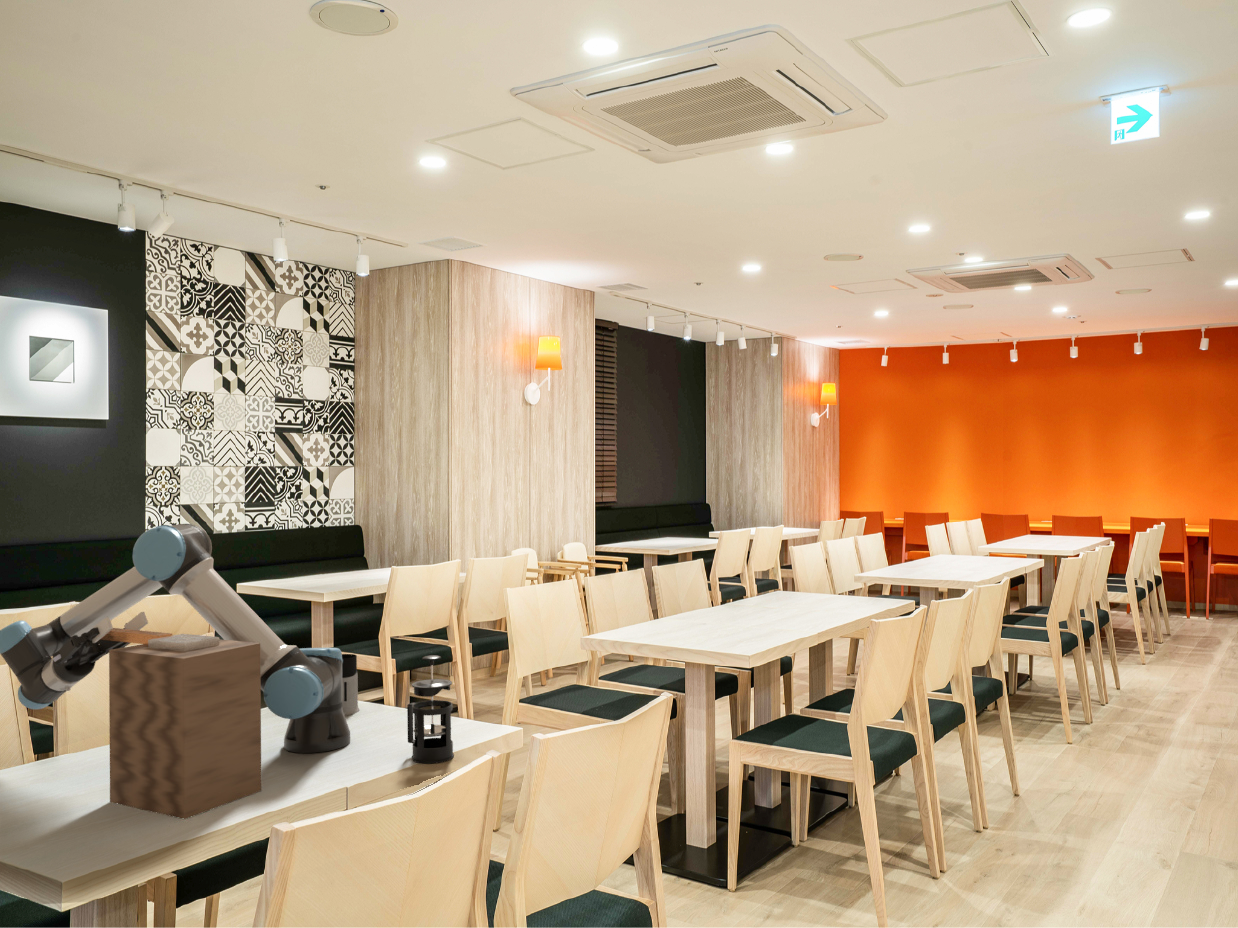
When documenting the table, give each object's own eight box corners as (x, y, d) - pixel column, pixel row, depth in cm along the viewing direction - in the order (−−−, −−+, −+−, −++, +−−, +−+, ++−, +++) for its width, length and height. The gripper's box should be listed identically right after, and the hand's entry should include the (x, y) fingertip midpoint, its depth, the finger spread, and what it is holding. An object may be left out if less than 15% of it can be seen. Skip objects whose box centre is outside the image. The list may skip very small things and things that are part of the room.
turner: (86, 640, 200) (86, 631, 200) (121, 635, 207) (121, 625, 207) (185, 651, 186) (185, 641, 186) (219, 645, 193) (219, 635, 193)
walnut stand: (109, 801, 188) (109, 649, 189) (188, 776, 204) (187, 636, 205) (184, 819, 178) (183, 658, 179) (261, 790, 194) (260, 643, 195)
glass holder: (362, 707, 265) (362, 653, 265) (350, 720, 251) (349, 663, 251) (331, 707, 264) (330, 653, 265) (316, 720, 250) (316, 663, 250)
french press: (464, 754, 218) (463, 653, 218) (439, 766, 209) (438, 661, 209) (422, 749, 223) (421, 650, 223) (396, 760, 214) (395, 657, 214)
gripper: (117, 673, 217) (175, 629, 208) (27, 692, 200) (86, 643, 190) (107, 644, 219) (164, 598, 210) (17, 659, 201) (75, 610, 192)
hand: (127, 620), depth 200 cm, fingers open, 7 cm apart
